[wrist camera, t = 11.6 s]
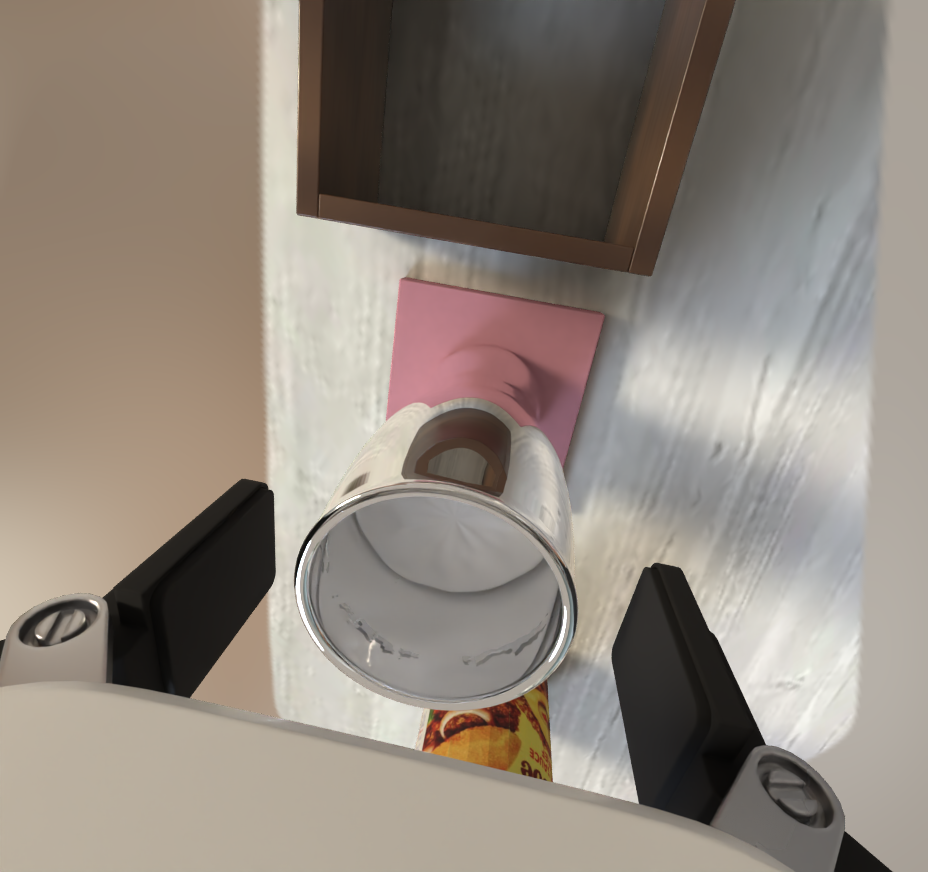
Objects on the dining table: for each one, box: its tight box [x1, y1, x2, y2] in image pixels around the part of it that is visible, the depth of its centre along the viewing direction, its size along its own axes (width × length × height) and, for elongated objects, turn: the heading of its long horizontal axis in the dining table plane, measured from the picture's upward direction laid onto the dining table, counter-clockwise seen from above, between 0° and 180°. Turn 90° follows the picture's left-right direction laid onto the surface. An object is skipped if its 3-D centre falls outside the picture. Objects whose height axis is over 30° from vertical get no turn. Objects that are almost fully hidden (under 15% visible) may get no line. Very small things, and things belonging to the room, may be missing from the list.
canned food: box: [415, 679, 553, 782], centre depth 27 cm, size 8×8×12 cm
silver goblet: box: [294, 346, 578, 711], centre depth 17 cm, size 7×7×15 cm
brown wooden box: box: [296, 0, 736, 276], centre depth 17 cm, size 12×12×7 cm
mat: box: [386, 277, 605, 469], centre depth 25 cm, size 11×10×1 cm
